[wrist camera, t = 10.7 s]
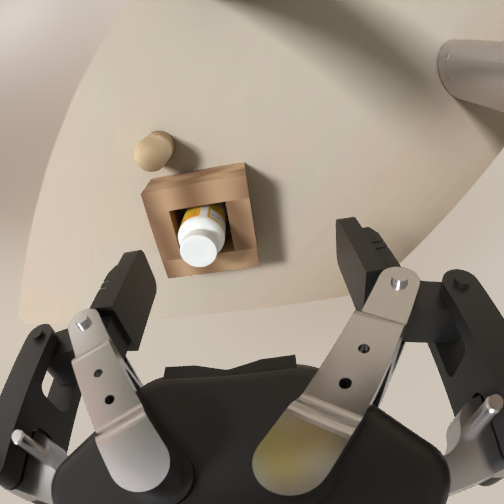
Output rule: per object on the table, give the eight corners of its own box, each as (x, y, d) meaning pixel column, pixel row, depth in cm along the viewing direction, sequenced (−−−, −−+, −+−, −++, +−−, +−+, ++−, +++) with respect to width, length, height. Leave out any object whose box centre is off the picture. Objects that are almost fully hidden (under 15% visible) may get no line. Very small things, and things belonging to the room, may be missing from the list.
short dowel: (171, 127, 34) (163, 133, 31) (177, 158, 36) (171, 167, 33) (140, 135, 34) (130, 142, 31) (147, 164, 36) (138, 174, 33)
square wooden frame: (244, 162, 37) (245, 175, 33) (257, 245, 43) (259, 265, 39) (151, 179, 37) (140, 194, 33) (174, 257, 44) (168, 278, 40)
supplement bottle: (229, 196, 39) (227, 232, 31) (224, 232, 42) (221, 275, 34) (187, 191, 39) (174, 226, 31) (184, 228, 41) (173, 269, 33)
